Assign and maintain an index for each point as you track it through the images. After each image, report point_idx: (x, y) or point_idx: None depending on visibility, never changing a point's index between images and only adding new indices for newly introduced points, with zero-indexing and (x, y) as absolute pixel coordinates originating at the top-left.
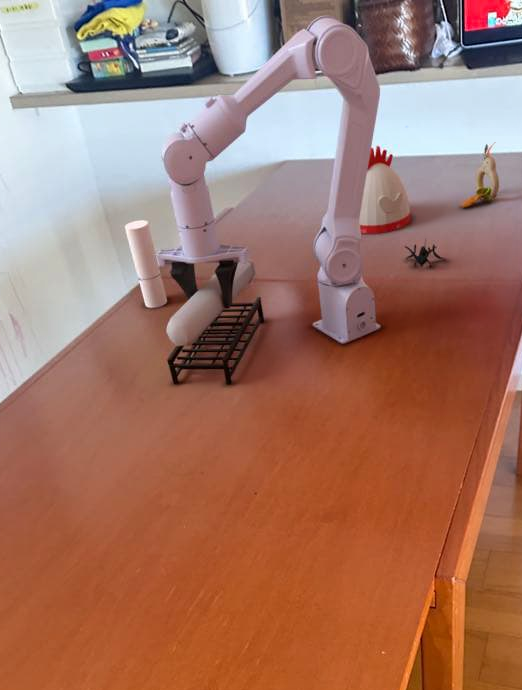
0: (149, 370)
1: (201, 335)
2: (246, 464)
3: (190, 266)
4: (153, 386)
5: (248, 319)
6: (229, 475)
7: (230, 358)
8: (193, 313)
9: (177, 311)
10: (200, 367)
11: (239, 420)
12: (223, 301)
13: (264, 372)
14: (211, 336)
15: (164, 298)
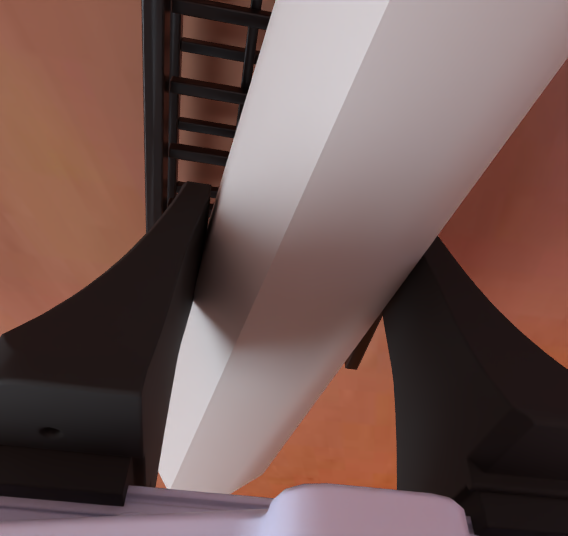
0: (33, 186)
1: (223, 160)
2: (384, 474)
3: (152, 422)
4: (102, 273)
5: None
6: (355, 484)
7: None
8: (255, 463)
9: (180, 471)
10: None
11: (374, 402)
12: (384, 310)
13: (462, 257)
14: None
15: None
